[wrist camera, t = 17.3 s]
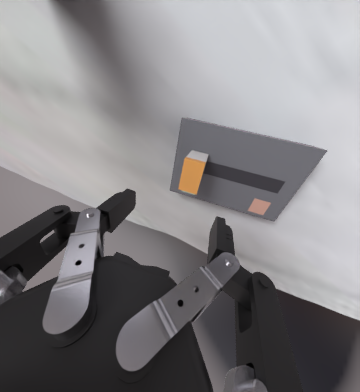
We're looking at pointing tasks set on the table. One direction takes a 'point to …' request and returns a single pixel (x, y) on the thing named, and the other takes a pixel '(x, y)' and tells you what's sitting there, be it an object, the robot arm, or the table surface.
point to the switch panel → (244, 167)
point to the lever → (192, 171)
